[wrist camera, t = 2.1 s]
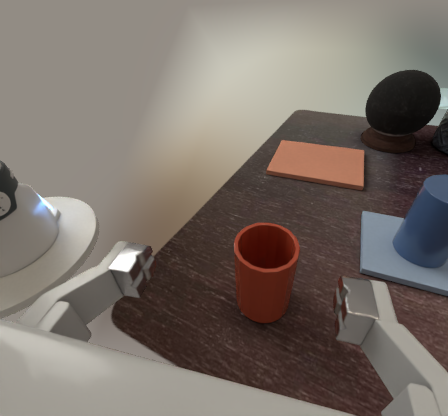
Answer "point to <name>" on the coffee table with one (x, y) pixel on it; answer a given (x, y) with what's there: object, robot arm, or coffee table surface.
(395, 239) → the navy blue cylinder
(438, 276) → the blue mat
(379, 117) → the black ball on stand
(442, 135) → the vase
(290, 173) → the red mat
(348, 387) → the coffee table surface
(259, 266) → the terracotta cup
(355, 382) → the coffee table surface
